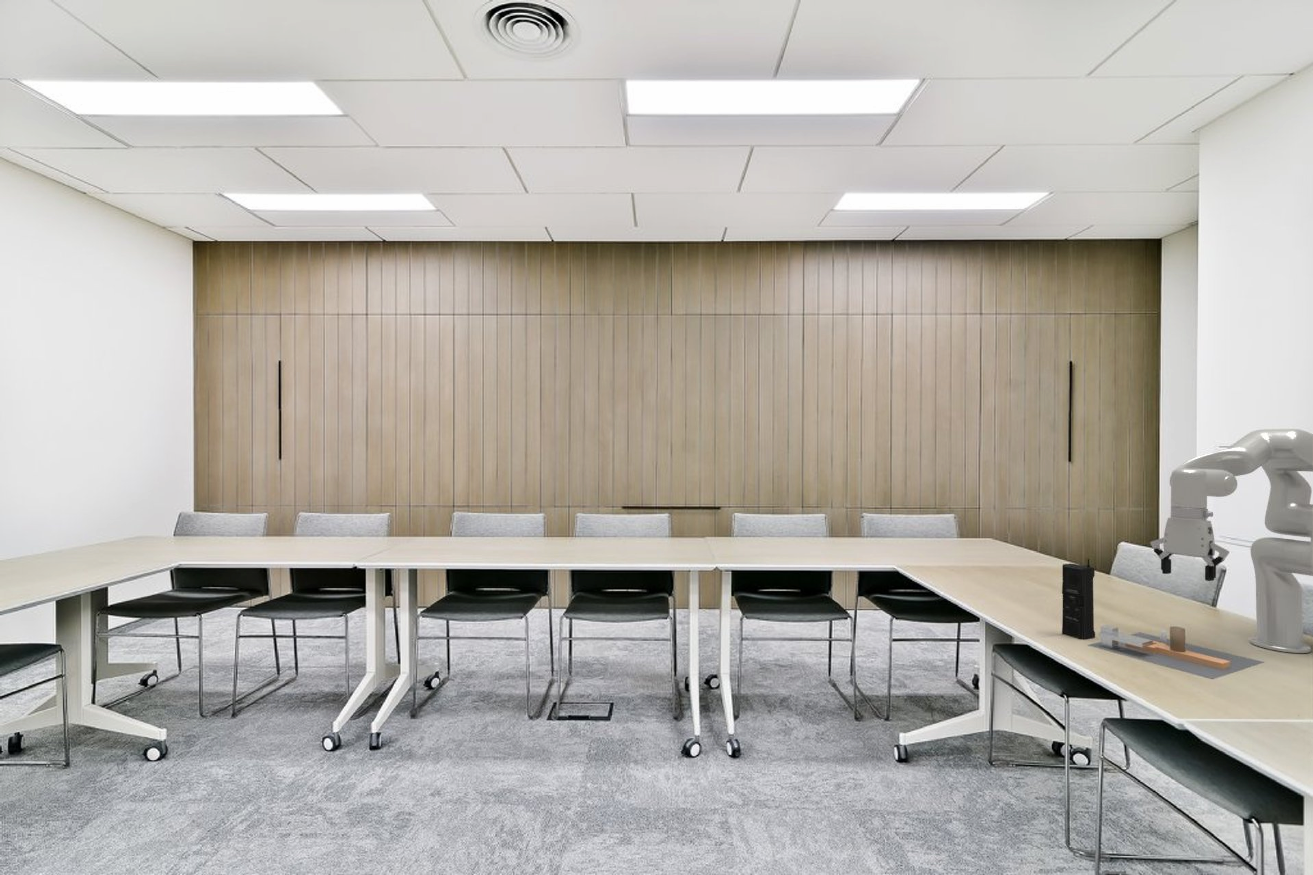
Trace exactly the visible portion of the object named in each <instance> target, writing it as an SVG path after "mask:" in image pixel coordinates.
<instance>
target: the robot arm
mask: <svg viewBox="0 0 1313 875" xmlns="http://www.w3.org/2000/svg"><path fill="white" fill-rule="evenodd" d="M1260 467H1261V468H1262V469H1263V471H1264V473H1265V475H1266V477H1267V478H1268V481H1269V485H1270V490H1269V495H1268V496H1269V497H1268V502H1267V505H1266V511H1265V515H1264V525H1265V528H1266V529H1267V530H1268V531H1270V532H1271V533H1274V534H1277V535H1282V536H1283V535H1284V536H1290V537H1291V536H1292V537H1293V536H1294V537H1302V538H1310V541H1308V540H1307V541H1306V540H1297V539H1291V538H1283V537H1282V538H1281V537H1271V536H1270V537H1269V536H1268V537H1260V538H1258V539H1256V540H1254V541H1253V543H1252V544H1251V545H1250V550H1249V551H1250V557H1251V561H1252V564H1253V570H1254V575H1255V577H1254V578H1255V610H1256V617H1255V618H1256V619H1255V620H1256V635H1253V636H1249V643H1250V644H1252V645H1254V646H1257V647H1259V648H1264V649H1266V650H1273V651H1277V652H1284V653H1292V654H1293V653H1294V654H1307V653H1308V654H1309V653H1311V651H1312V650H1311V649H1312V648H1311V646H1309V644H1306V643H1304V641H1303V640H1304V638H1303V637H1304V636H1305V635H1304V634H1305V633H1304V632H1303V630H1304V629H1303V589H1302V586H1301V584H1300V582H1299V581H1298V579H1297V578H1296V576H1295V575H1294V574H1297V575H1303V576H1309V577H1313V503H1311V497H1312V491H1313V490H1312V487H1311V484H1310V483H1309V482H1308V481H1307V480H1306V479H1305V477H1304V476H1303V475H1301V473H1299V472H1313V433H1311V432H1309V431H1306V430H1302V429H1297V428H1280V429H1279V428H1275V429H1274V428H1271V429H1270V428H1269V429H1268V428H1267V429H1257V430H1254V431H1250V432H1249V433H1247V434H1246V435H1244V436H1243V437H1241V438H1239V440H1237V441H1236V442H1234V443H1233V444H1231V445H1230V446H1228V447H1227V448H1224V449H1222V450H1217V451H1214V452H1210V453H1207V454H1204V455H1200V456H1196V457H1194V458H1191V459H1189V460H1186V461H1185V462H1184V463H1182V464H1180V465H1179V466H1178V467H1176V468H1175V469H1174V470H1172V472H1171V475H1170V477H1169V486H1170V517H1168V518H1167V520H1166V523H1165V528H1164V531H1163V532H1164V534H1163V537H1161V538H1158V539H1155V540H1152V541H1150V542H1149V544H1150V546H1151V547H1152V549H1153V552H1154V553H1155V554H1156V555H1157V556H1158V558H1159V559H1160V570H1161V571H1162V574H1164V575H1167V574H1168V575H1169V574H1172V559H1171V558H1170V557H1172V556H1173V555H1177V556H1186V557H1194V558H1202V560H1203V561H1204V562H1205V563H1206V565H1205V566H1204V571H1205V572H1204V580H1205V581H1207V582H1211V581H1212V582H1213V581H1214V580H1215V579H1216V577H1217V566H1219V565H1220V564H1221V563H1223V562H1224V561H1225V560H1226V558H1227V557H1228V556H1229V554H1230V551H1229V550H1228V549H1226V548H1225V547H1222V546H1220V545H1218V544H1217V543H1215V534H1214V529H1213V524H1212V520H1208V519H1209V517H1210V518H1212V517H1213V516H1214V513H1213V511H1209V509H1208V497H1215V498H1218V497H1219V498H1221V497H1227V496H1230V495H1232V494H1233V493H1234V492H1235V491H1236V490H1237V488H1238V479H1237V478H1236V477H1240V476H1245V475H1248V474H1251V473H1254V472H1255V471H1256V470H1258V469H1259V468H1260ZM1161 544H1163V550H1162V548H1160V545H1161ZM1216 552H1217V553H1218V556H1216V557H1215V554H1216Z"/></svg>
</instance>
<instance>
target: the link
mask: <svg viewBox="0 0 1313 875" xmlns="http://www.w3.org/2000/svg"><path fill="white" fill-rule="evenodd" d="M1169 639H1170V646H1167V644H1164V643H1160V642H1156V641H1153V645H1150V646H1147V647H1143V648H1142V647H1138V646H1134V645H1131V644H1127V643H1125V646H1126V647H1130V648H1134V649H1137V650H1141V651H1145V652H1149V653H1153V654H1155V653H1159V654H1163V655H1167V656H1171V657H1174V658H1178V659H1182V660H1186V661H1190V662H1194V663H1198V664H1202V665H1205V666H1209V667H1213V668H1217V669H1221V670H1224V669H1227V668H1230V661H1227V660H1223V659H1219V658H1215V657H1211V656H1207V655H1203V654H1199V653H1195V652H1191V651H1187V650H1185V643H1186V628H1184V627H1179V626H1169Z"/></svg>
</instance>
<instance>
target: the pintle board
mask: <svg viewBox="0 0 1313 875" xmlns="http://www.w3.org/2000/svg"><path fill="white" fill-rule="evenodd" d="M1130 635H1132V636H1136V637H1140V638H1144V639H1149V640H1153V641H1156V642H1160V643H1164V644H1167V646H1170V638H1168V632H1167V630H1164V629H1162V630H1159V636H1157V635H1152V634H1149V633H1143V632H1136V633H1131V634H1130ZM1087 646H1089V647H1093V648H1095V649H1100V650H1103V651H1105V652H1106V651H1108V652H1111V653H1114V654H1118V655H1120V656H1121V655H1122V656H1124V657H1129V658H1132V659H1136V660H1140V661H1142V662H1143V661H1144V662H1146V663H1151V664H1154V665H1158V666H1162V667H1165V668H1168V669H1172V670H1173V669H1174V670H1175V671H1176V670H1177V671H1180V672H1183V673H1184V672H1185V673H1187V674H1191V675H1194V676H1195V675H1196V676H1199V677H1202V678H1206V679H1209V680H1215V679H1218V678H1221V677H1224V676H1227V675H1230V674H1233V673H1235V672H1239V671H1242V670H1245V669H1248V668H1252V667H1254V666H1257V665H1260V664H1263V663H1264V661H1261V660H1258V659H1253V658H1250V657H1245V656H1241V655H1237V654H1232V653H1228V652H1225V651H1219V650H1216V649H1212V648H1207V647H1202V646H1199V645H1194V644H1190V643H1186V642H1185V650H1187V651H1191V652H1195V653H1199V654H1203V655H1207V656H1211V657H1215V658H1219V659H1223V660H1227V661H1230V668H1227V669H1224V670H1221V669H1217V668H1213V667H1209V666H1205V665H1202V664H1198V663H1194V662H1190V661H1186V660H1182V659H1178V658H1174V657H1171V656H1167V655H1163V654H1159V653H1155V654H1153V653H1149V652H1145V651H1141V650H1137V649H1134V648H1130V647H1126V646H1125V643H1123V642H1119V641H1118V647H1117V648H1113V649H1112V648H1108V647H1104V646H1101V641H1098V642H1093V643H1090V644H1087Z"/></svg>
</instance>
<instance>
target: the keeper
mask: <svg viewBox="0 0 1313 875" xmlns="http://www.w3.org/2000/svg"><path fill="white" fill-rule="evenodd" d="M1098 637H1100V642H1101V646H1104V647H1108V648H1112V649H1113V648H1117V647H1118V641H1119V642H1123V643H1127V644H1131V645H1134V646H1138V647H1142V648H1143V647H1147V646H1150V645H1153V640H1149V639H1144V638H1140V637H1136V636H1132V635H1131V634H1127V633H1123V632H1119V627H1116V626H1113V625H1108V624H1106V625H1101V626H1100V631H1099V632H1098Z"/></svg>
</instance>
